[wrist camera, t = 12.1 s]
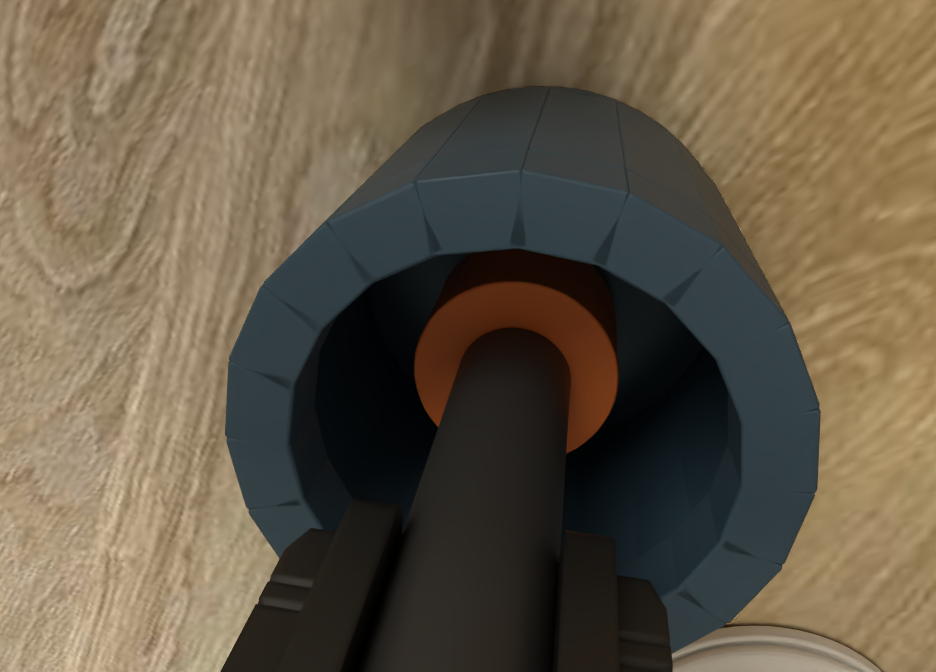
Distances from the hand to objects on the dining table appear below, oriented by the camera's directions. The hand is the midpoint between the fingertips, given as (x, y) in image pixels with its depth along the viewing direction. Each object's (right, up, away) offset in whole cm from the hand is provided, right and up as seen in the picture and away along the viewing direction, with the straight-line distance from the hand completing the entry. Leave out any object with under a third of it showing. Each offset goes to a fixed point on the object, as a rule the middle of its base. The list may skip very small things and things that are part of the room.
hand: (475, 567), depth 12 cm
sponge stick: (+1, +4, +8) cm, 9 cm away
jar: (+2, +5, +10) cm, 11 cm away
